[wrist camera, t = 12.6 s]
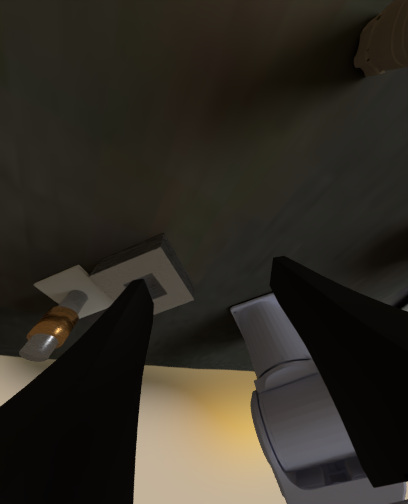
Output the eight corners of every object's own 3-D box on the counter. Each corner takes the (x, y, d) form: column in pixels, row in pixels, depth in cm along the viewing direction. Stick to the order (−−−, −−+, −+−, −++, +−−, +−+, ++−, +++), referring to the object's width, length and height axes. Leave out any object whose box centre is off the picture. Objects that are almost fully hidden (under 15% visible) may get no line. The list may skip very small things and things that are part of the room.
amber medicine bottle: (92, 291, 21) (53, 349, 15) (90, 306, 22) (53, 365, 16) (65, 284, 20) (11, 343, 14) (64, 301, 21) (15, 361, 15)
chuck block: (192, 282, 22) (194, 299, 20) (140, 302, 23) (135, 321, 21) (163, 233, 18) (160, 246, 16) (100, 259, 19) (88, 276, 17)
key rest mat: (117, 302, 23) (116, 304, 22) (80, 316, 23) (78, 318, 23) (78, 264, 19) (76, 266, 19) (35, 282, 20) (33, 285, 19)
